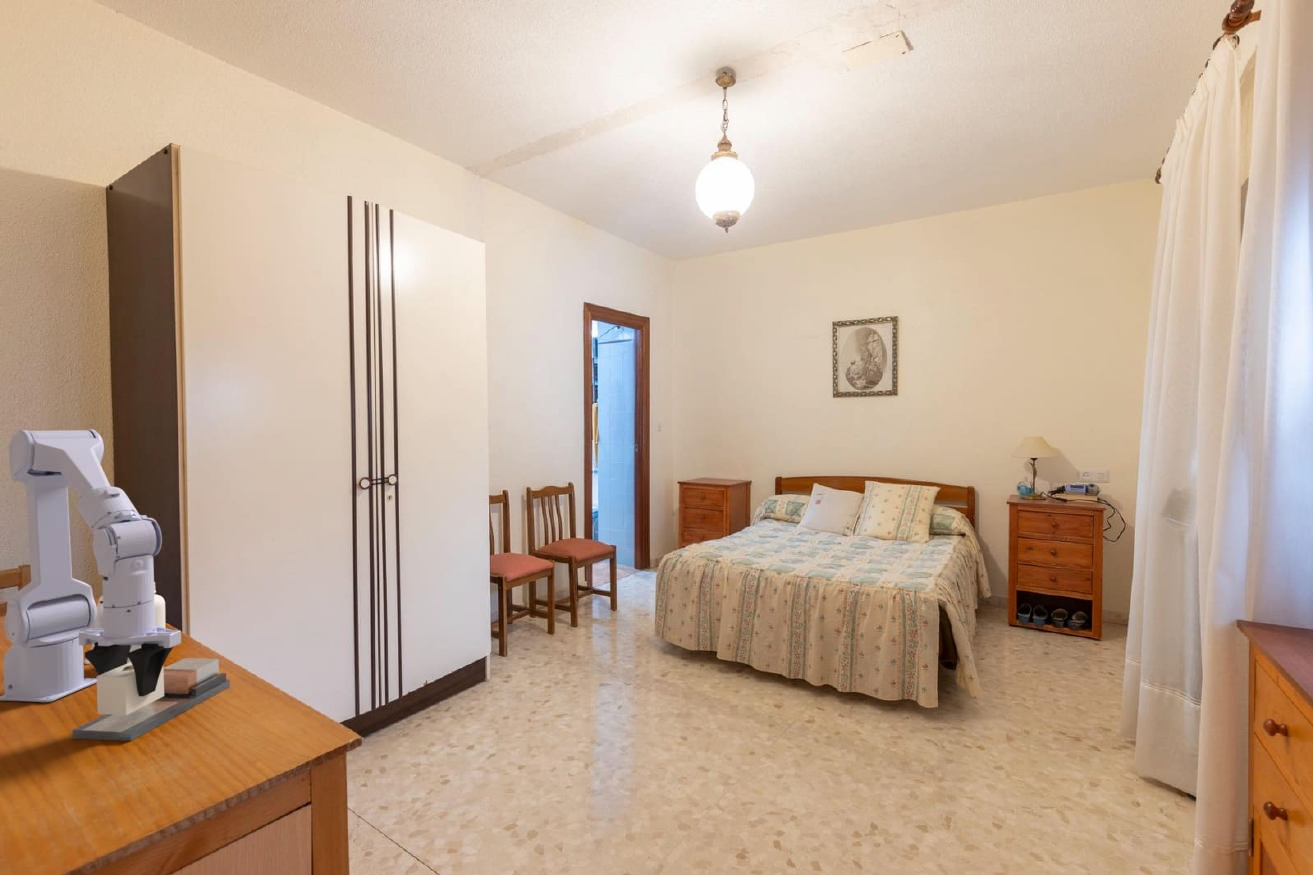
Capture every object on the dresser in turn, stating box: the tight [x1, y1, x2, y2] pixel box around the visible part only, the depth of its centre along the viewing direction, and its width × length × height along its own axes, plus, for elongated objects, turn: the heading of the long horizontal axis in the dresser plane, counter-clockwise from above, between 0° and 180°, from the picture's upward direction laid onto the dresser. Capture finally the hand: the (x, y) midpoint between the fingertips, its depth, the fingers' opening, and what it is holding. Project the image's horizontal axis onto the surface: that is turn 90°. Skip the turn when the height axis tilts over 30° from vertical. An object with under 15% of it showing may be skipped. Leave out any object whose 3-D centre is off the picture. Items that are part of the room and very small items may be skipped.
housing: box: [96, 662, 164, 715], centre depth 89 cm, size 4×6×6 cm
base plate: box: [72, 672, 231, 742], centre depth 93 cm, size 9×18×2 cm, turn 175°
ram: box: [163, 657, 220, 694], centre depth 98 cm, size 6×6×4 cm
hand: (131, 692), depth 89 cm, fingers closed on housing, 4 cm apart
